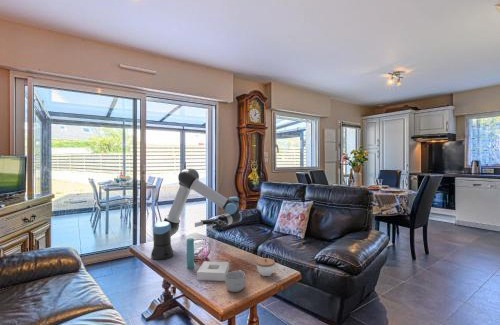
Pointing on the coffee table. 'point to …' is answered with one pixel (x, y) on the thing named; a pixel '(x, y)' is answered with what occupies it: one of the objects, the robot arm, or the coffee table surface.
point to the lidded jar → (265, 266)
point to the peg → (190, 253)
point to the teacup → (235, 280)
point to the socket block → (213, 271)
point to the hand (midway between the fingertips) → (201, 226)
